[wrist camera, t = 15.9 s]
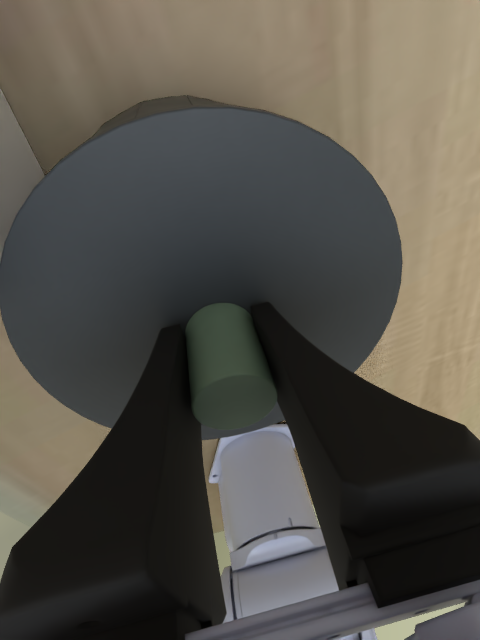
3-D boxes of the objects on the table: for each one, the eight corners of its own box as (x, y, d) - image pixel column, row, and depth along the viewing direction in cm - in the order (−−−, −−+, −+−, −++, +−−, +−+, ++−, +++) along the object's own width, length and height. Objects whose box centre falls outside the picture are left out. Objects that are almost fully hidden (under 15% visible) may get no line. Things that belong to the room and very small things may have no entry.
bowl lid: (316, 417, 18) (350, 499, 15) (41, 424, 15) (6, 533, 11) (458, 154, 10) (596, 200, 7) (-44, 35, 7) (-232, 16, 4)
